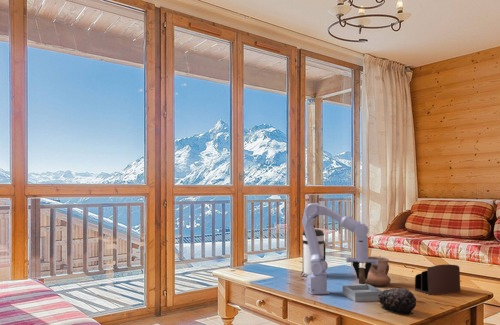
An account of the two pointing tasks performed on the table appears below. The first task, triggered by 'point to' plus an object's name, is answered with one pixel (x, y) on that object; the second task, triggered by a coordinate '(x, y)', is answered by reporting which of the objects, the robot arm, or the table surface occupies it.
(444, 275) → the letter holder
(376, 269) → the ceramic jug
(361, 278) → the walnut peg
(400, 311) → the pine cone
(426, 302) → the table surface
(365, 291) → the slate box
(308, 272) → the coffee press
